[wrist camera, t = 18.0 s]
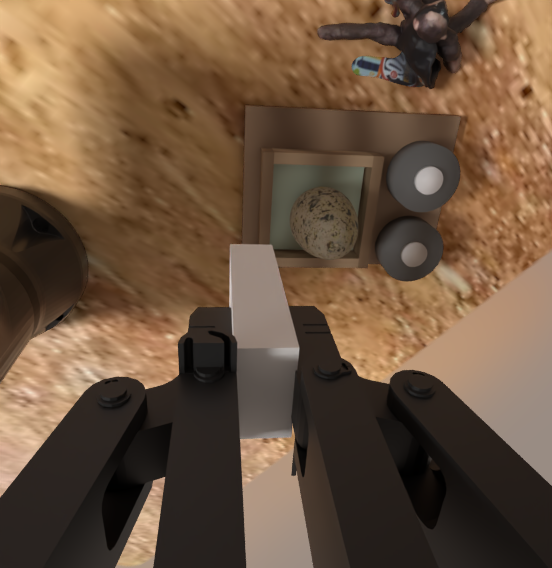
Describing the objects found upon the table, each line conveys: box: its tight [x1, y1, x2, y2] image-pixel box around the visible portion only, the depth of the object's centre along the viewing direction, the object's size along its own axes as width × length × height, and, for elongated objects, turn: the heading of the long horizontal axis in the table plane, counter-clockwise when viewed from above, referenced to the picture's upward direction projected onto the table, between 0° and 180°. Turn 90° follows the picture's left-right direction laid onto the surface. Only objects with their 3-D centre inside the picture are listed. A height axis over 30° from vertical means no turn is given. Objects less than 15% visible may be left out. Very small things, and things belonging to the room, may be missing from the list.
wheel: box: [386, 141, 460, 212], centre depth 42 cm, size 6×6×3 cm
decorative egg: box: [290, 187, 358, 260], centre depth 41 cm, size 6×6×10 cm
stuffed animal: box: [317, 0, 496, 89], centre depth 40 cm, size 12×10×12 cm
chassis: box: [242, 105, 461, 281], centre depth 43 cm, size 20×15×6 cm
